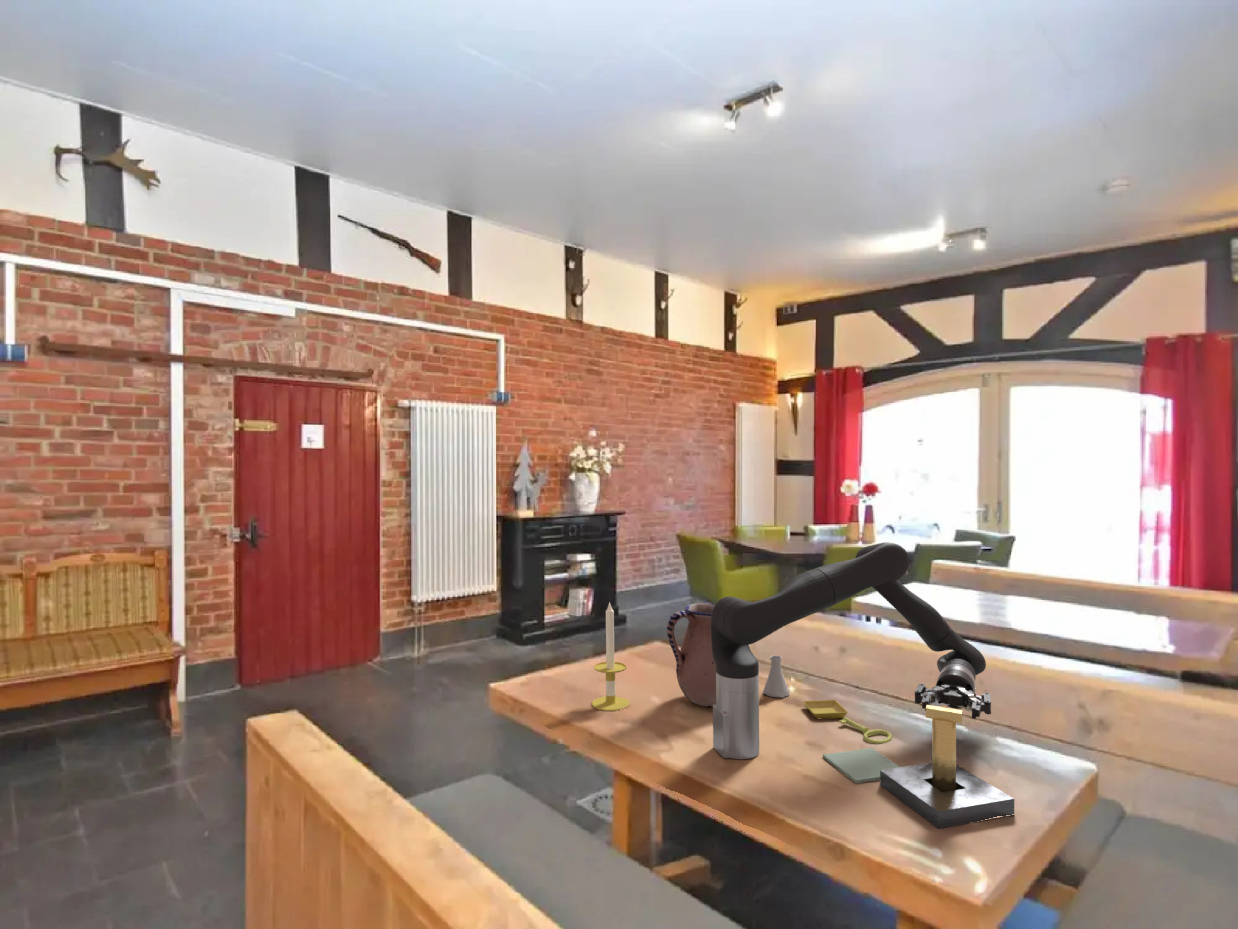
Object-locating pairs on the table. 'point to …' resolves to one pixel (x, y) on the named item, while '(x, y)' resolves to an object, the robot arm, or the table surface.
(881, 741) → the key
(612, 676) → the candle
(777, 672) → the flask
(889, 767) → the mat
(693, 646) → the ceramic pitcher
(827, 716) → the yellow square tray
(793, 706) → the table surface
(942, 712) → the t key
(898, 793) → the cover plate
